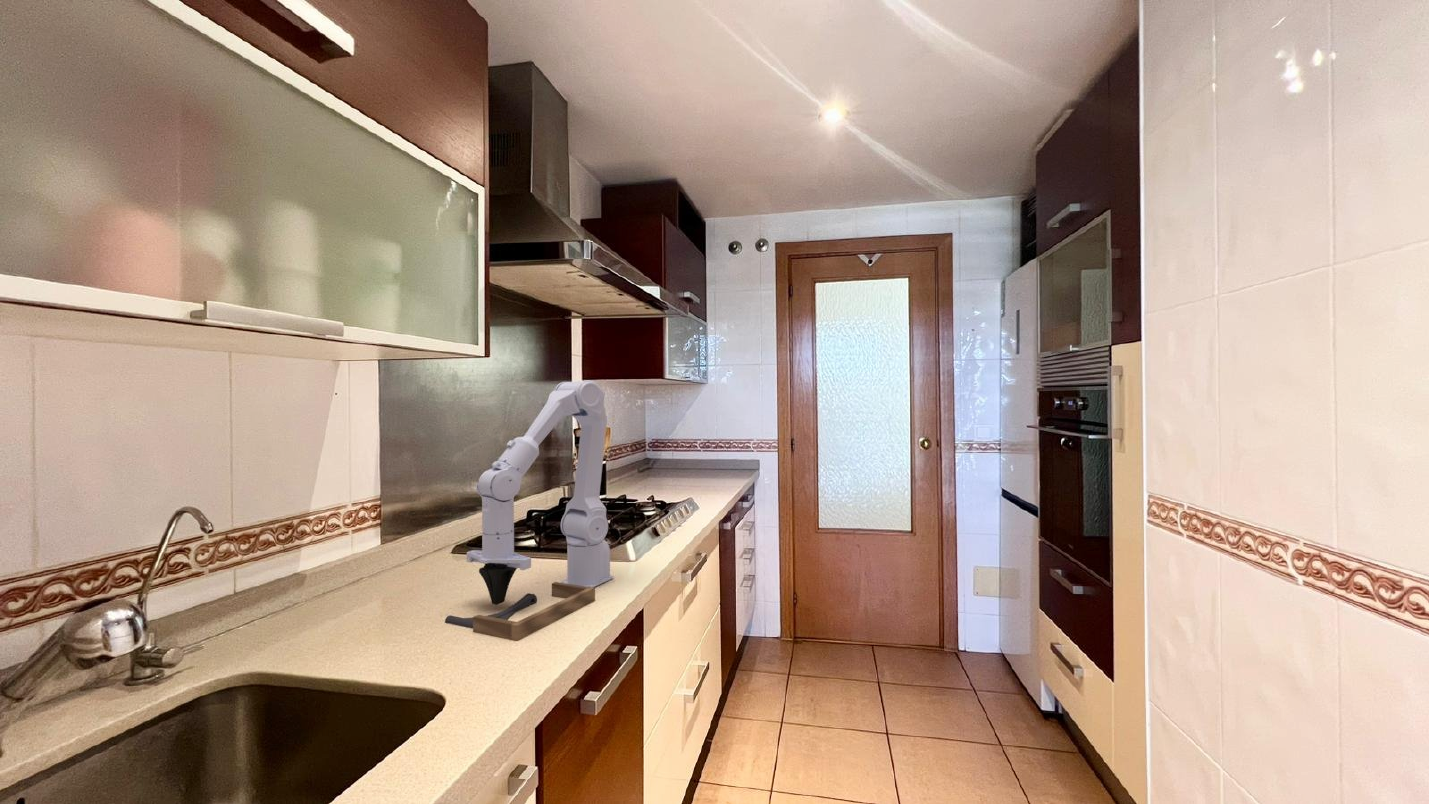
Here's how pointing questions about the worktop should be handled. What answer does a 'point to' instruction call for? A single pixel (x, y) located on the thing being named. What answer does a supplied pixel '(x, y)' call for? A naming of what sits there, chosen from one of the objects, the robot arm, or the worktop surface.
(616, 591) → the worktop surface
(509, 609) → the bracket
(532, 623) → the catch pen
